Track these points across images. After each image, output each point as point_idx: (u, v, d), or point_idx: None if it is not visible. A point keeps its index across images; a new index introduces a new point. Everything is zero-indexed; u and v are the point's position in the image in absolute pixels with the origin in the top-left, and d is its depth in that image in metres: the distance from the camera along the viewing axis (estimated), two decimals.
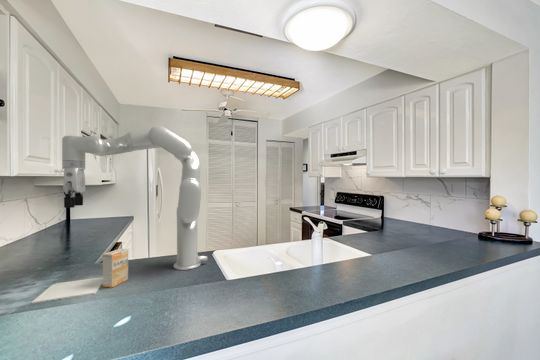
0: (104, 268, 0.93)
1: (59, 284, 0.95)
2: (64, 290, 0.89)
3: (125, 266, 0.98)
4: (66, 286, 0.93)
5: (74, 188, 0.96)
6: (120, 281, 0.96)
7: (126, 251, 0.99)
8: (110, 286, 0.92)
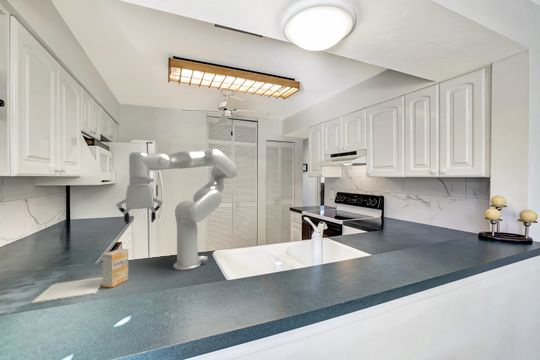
0: (104, 268, 0.93)
1: (59, 284, 0.95)
2: (64, 290, 0.89)
3: (125, 266, 0.98)
4: (66, 286, 0.93)
5: (153, 203, 1.04)
6: (120, 281, 0.96)
7: (126, 251, 0.99)
8: (110, 286, 0.92)
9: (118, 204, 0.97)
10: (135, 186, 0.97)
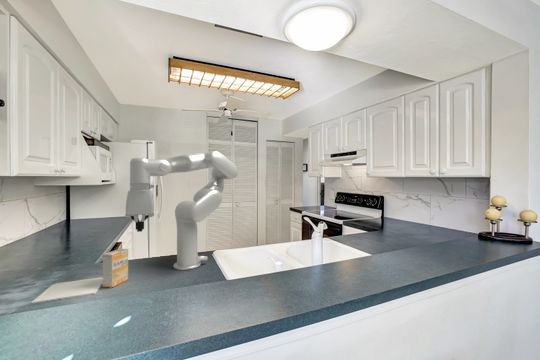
0: (104, 268, 0.93)
1: (59, 284, 0.95)
2: (64, 290, 0.89)
3: (125, 266, 0.98)
4: (66, 286, 0.93)
5: (153, 209, 1.03)
6: (120, 281, 0.96)
7: (126, 251, 0.99)
8: (110, 286, 0.92)
9: (126, 215, 0.98)
10: (135, 192, 0.97)
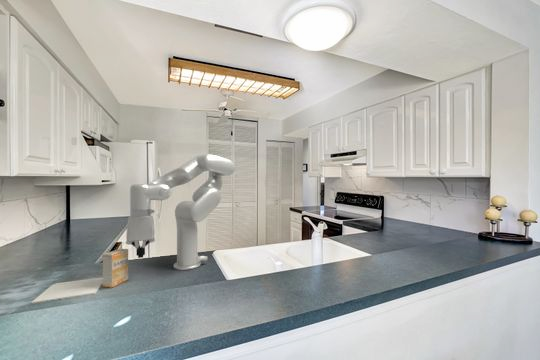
0: (104, 268, 0.93)
1: (59, 284, 0.95)
2: (64, 290, 0.89)
3: (125, 266, 0.98)
4: (66, 286, 0.93)
5: None
6: (120, 281, 0.96)
7: (126, 251, 0.99)
8: (110, 286, 0.92)
9: (127, 242, 0.98)
10: (136, 219, 0.97)
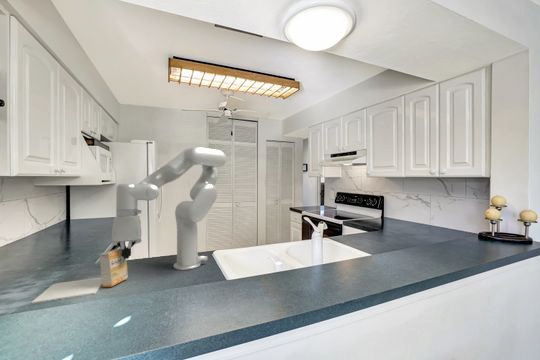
0: (102, 268, 0.93)
1: (59, 284, 0.95)
2: (64, 290, 0.89)
3: (123, 265, 0.98)
4: (66, 286, 0.93)
5: None
6: (119, 279, 0.96)
7: None
8: (110, 285, 0.92)
9: (113, 242, 0.96)
10: (122, 219, 0.95)
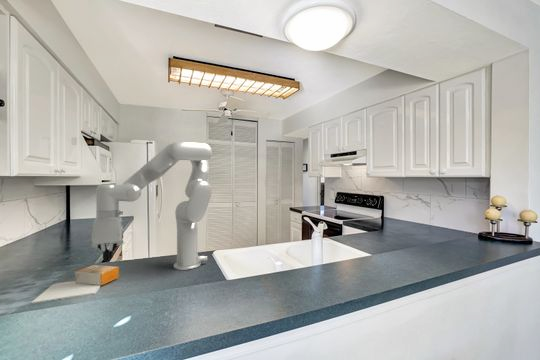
0: (86, 281, 0.94)
1: (59, 284, 0.95)
2: (64, 290, 0.89)
3: (103, 266, 1.00)
4: (66, 286, 0.93)
5: None
6: (108, 270, 0.97)
7: (92, 265, 1.02)
8: (100, 275, 0.93)
9: (93, 245, 0.93)
10: (102, 220, 0.93)
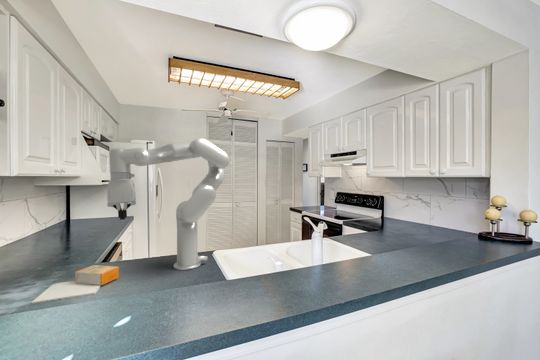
0: (86, 281, 0.94)
1: (59, 284, 0.95)
2: (64, 290, 0.89)
3: (103, 266, 1.00)
4: (66, 286, 0.93)
5: (135, 197, 1.07)
6: (108, 270, 0.97)
7: (92, 265, 1.02)
8: (100, 275, 0.93)
9: (109, 204, 1.01)
10: (116, 181, 1.00)
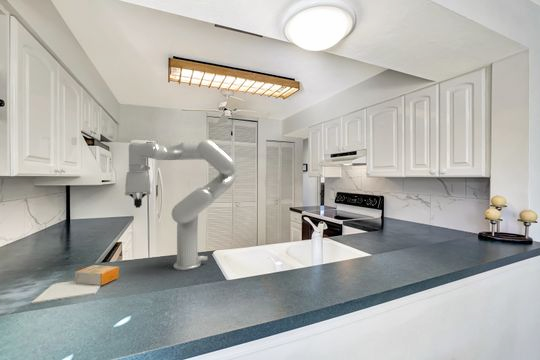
0: (86, 281, 0.94)
1: (59, 284, 0.95)
2: (64, 290, 0.89)
3: (103, 266, 1.00)
4: (66, 286, 0.93)
5: (149, 188, 1.17)
6: (108, 270, 0.97)
7: (92, 265, 1.02)
8: (100, 275, 0.93)
9: (126, 193, 1.12)
10: (134, 173, 1.11)
